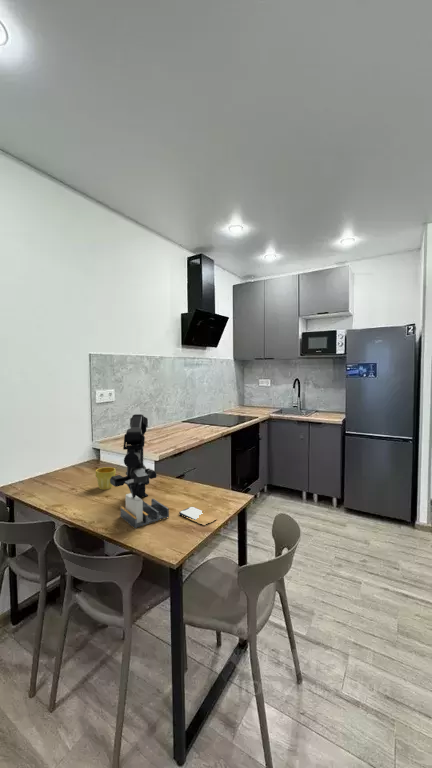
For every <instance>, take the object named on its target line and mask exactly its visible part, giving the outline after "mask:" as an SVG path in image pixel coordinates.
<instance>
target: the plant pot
mask: <svg viewBox="0 0 432 768" xmlns="http://www.w3.org/2000/svg"><path fill="white" fill-rule="evenodd" d="M116 472H117V471H116V468H115V467H112V466H110V467H109V466H106V467H100V468H97V469H96V470H95V478H96V480H97V485H98V489H99V490H105V491H106V490H109V489H112V488H113V485H112V484H111V483H110V479H111V477H112V476H116V474H117V473H116Z"/></svg>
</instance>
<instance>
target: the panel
mask: <svg viewBox="0 0 432 768" xmlns="http://www.w3.org/2000/svg"><path fill="white" fill-rule="evenodd" d="M143 501H144V500H143V499H142V498H139V497H138V496H136V497H134V498H133V497H132V494H131V492H130V493H126V494H125V509H126V510H128V511H129V512H130V513H131V514H133V515H134V516H135V517H136V518H137V523H139V522H142V521H143Z"/></svg>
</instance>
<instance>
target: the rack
mask: <svg viewBox="0 0 432 768" xmlns="http://www.w3.org/2000/svg"><path fill="white" fill-rule="evenodd" d="M150 504H151V505H149V504H148V503H147V502H145V501H144V500H143V521H142V522H139V523H137V518H136V517H135V516H134V515H133V514H131V513H130V512H129V511H128V510H126V507H124V506H123V505H121V506H120V514H119V515H120V518H122V520H124V521H125V522H126V523H127V522H128V525H130V527H132V526H133V527H134V528H136V529H138V528H137V527H139V528H141V527H140V526H142V527H144V526H143V525H145V526H147V525H146V524H148V525H150V524H149V523H151V524H153V523H152V522H154V523H156V522H155V521H157V522H159V521H158V520H160V519H163V518H166V519H168V518H167V517H170V508H169V507H167V506H166V505H164V504H163V503H161V502H159V501H158V500H157V499H155V498H151V502H150ZM163 520H164V519H163ZM160 521H161V520H160ZM133 527H132V528H133ZM134 528H133V529H134Z"/></svg>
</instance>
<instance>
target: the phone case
mask: <svg viewBox="0 0 432 768" xmlns="http://www.w3.org/2000/svg"><path fill="white" fill-rule="evenodd" d="M202 511H203V510H201V509H199V508H197V507H196V506H195V507H194V506H188V507H187V508H185V509H183V510H180V511H178V512H179V513H178V515H179V514H180V515H183V516H185V517H188V518H191V519H194V520H196V519H197V518H199V515H201V514H203V513H202ZM180 515H179V516H180Z"/></svg>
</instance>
